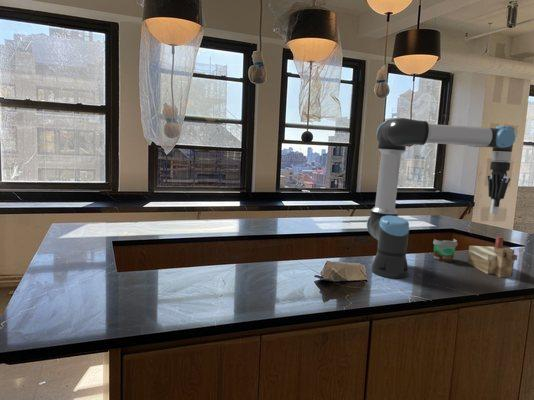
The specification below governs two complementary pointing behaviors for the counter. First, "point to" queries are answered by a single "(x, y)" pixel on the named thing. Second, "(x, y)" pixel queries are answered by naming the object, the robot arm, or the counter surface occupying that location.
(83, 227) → the counter surface
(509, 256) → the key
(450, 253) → the food container
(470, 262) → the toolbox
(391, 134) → the robot arm
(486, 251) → the cream flat piece
